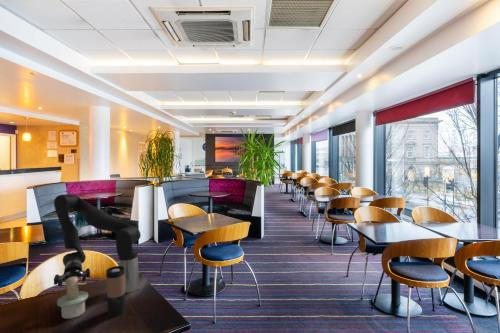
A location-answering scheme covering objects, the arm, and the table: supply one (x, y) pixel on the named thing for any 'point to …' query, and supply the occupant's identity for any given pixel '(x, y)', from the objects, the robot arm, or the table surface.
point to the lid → (72, 294)
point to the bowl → (73, 310)
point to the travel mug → (115, 290)
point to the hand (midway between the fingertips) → (72, 282)
